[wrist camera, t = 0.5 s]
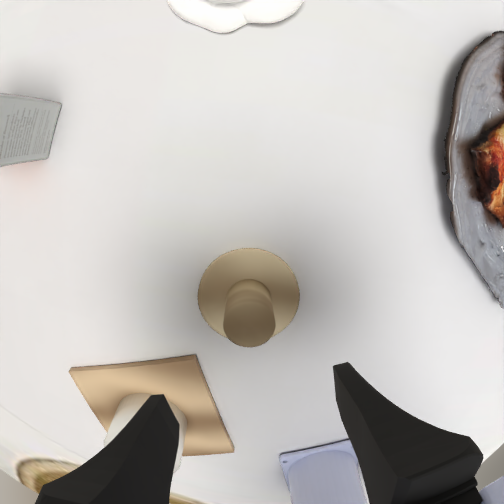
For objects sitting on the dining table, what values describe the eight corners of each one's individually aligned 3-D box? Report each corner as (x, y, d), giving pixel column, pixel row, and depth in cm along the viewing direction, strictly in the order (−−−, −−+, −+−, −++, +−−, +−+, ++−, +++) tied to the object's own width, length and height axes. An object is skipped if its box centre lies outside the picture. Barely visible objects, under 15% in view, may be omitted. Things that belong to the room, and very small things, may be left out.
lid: (304, 325, 23) (314, 359, 19) (213, 343, 24) (208, 379, 20) (288, 237, 21) (298, 258, 17) (187, 259, 21) (175, 284, 17)
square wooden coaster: (234, 447, 27) (233, 452, 27) (126, 452, 28) (124, 456, 27) (195, 354, 24) (194, 359, 23) (71, 367, 24) (68, 371, 24)
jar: (196, 438, 26) (191, 475, 22) (136, 440, 26) (125, 474, 22) (172, 390, 24) (161, 430, 20) (106, 394, 24) (90, 429, 20)
